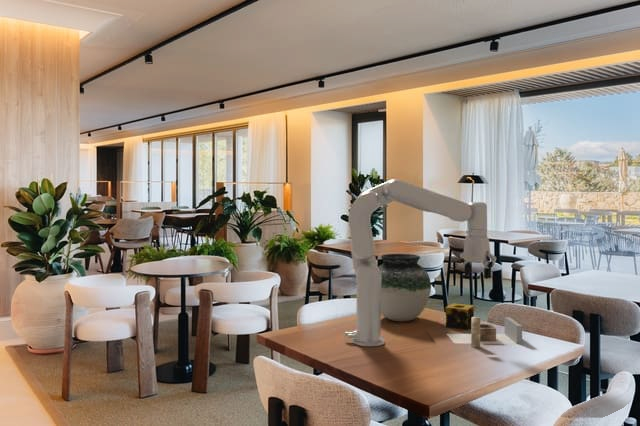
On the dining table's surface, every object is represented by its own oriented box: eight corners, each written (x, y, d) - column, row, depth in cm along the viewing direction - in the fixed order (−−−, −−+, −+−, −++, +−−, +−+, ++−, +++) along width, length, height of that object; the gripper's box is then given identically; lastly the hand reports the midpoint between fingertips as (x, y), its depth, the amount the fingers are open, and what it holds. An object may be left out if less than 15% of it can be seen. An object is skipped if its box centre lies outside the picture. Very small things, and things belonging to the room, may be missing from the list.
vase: (416, 329, 224) (417, 261, 223) (359, 321, 240) (359, 256, 239) (439, 317, 248) (440, 254, 247) (386, 310, 264) (386, 251, 263)
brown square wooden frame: (476, 341, 203) (476, 328, 203) (471, 336, 210) (471, 323, 210) (495, 341, 203) (496, 328, 202) (490, 336, 210) (490, 324, 210)
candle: (475, 327, 228) (475, 305, 228) (468, 332, 219) (468, 309, 219) (452, 324, 234) (452, 302, 233) (445, 329, 225) (445, 306, 225)
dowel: (472, 350, 194) (472, 318, 194) (470, 347, 197) (470, 316, 197) (481, 350, 194) (481, 318, 194) (478, 347, 197) (478, 316, 197)
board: (454, 345, 200) (454, 325, 199) (446, 336, 214) (446, 317, 213) (522, 346, 199) (522, 325, 199) (509, 336, 213) (509, 317, 213)
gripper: (453, 233, 208) (454, 275, 209) (488, 235, 194) (489, 280, 194) (466, 232, 212) (467, 273, 213) (501, 234, 198) (502, 278, 198)
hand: (477, 276), depth 204 cm, fingers open, 9 cm apart
